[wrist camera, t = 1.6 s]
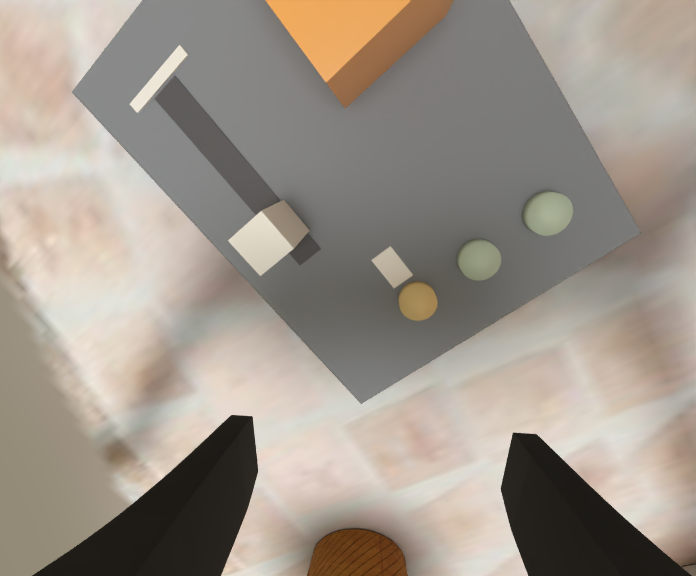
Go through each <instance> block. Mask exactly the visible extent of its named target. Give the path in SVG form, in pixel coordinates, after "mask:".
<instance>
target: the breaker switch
mask: <svg viewBox="0 0 696 576" xmlns="http://www.w3.org/2000/svg"><path fill="white" fill-rule="evenodd" d="M309 231H310V230H309V229H308V228H307V227H306V225H305V224H304V223H303V222H302V221H301V219H300V218H299V217H298V216H297V215H296V213H295V212H294V211H293V210H292V209H291V207H290V206H289V205H288V204H287V203H286V202H285V200H282V201H280V202H278V203H276V204H274V205H272V206H270V207H268V208H266V209H264V210H262V211H260V212H259V213H258V214H257V215H256V216H255V217H254V218H253V219H251V220H250V221H249V222H248V223H247V224H246V225H245V226H244V227H243V228H241V229H240V230H239V231H238V232H237V233H236V234H235V235H234V236H232V237H231V238H230V239H229V240H228V241H229V242H230V244H231V245H232V246H233V247H234V248H235V249H236V250H237V251H238V252H239V253H240V255H241V256H242V257H243V258H244V259H245V260H246V261H247V262H248V263H249V264H250V265H251V267H252V268H253V269H254V270H255V271H256V272H257V273H258V274H259V275H260V276H261V275H262V274H264V273H265V272H266V271H267V270H268V269H270V268H271V267H272V266H273V265H275V264H276V263H277V262H278V261H279V260H281V259H282V258H283V257H284V256H285V255H287V254H288V253H289V252H290V251H292V250H293V249H294V248H295V247H296V246H297V245H298V243H299V242H300V241H301V240H302V239H303V238H304V237H305V235H306V234H307V233H308V232H309Z"/></svg>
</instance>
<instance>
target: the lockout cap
mask: <svg viewBox="0 0 696 576" xmlns="http://www.w3.org/2000/svg"><path fill="white" fill-rule="evenodd" d="M265 1H266V2H267V3H268V5H269V6H270V7H271V9H272V10H273V11H274V13H275V14H276V15H277V17H278V18H279V20H280V21H281V22H282V24H283V25H284V26H285V28H286V29H287V30H288V32H289V33H290V35H291V36H292V37H293V39H294V40H295V41H296V43H297V44H298V45H299V47H300V48H301V49H302V51H303V52H304V54H305V55H306V56H307V58H308V59H309V60H310V62H311V63H312V64H313V66H314V67H315V68H316V70H317V71H318V73H319V74H320V75H321V77H322V78H323V79H324V81H325V82H326V83H327V85H328V86H329V87H330V89H331V90H332V92H333V93H334V94H335V96H336V97H337V98H338V100H339V101H340V102H341V104H342V105H343V106H344V108H346V107H347V106H349V105H350V104H351V103H352V102H353V101H354V100H355V99H356V98H357V97H358V96H359V95H360V94H362V93H363V92H364V91H365V90H366V89H367V88H368V87H369V86H370V85H371V84H372V83H373V82H375V81H376V80H377V79H378V78H379V77H380V76H381V75H382V74H383V73H384V72H385V71H387V70H388V69H389V68H390V67H391V66H392V65H393V64H394V63H395V62H396V61H397V60H398V59H400V58H401V57H402V56H403V55H404V54H405V53H406V52H407V51H408V50H409V49H410V48H411V47H413V46H414V45H415V44H416V43H417V42H418V41H419V40H420V39H421V38H422V37H423V36H425V35H426V34H427V33H428V32H429V31H430V30H431V29H432V28H433V27H434V26H435V25H436V24H438V23H439V22H440V21H441V20H442V19H443V18H444V17H445V16H446V15H447V13H448V11H449V9H450V6H451V4H452V2H453V0H265Z"/></svg>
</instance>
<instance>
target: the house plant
mask: <svg viewBox="0 0 696 576" xmlns="http://www.w3.org/2000/svg"><path fill="white" fill-rule="evenodd" d="M682 568H683V569H684V570H686V571H687V572H688V573H689V574H691V575H692V576H696V564H695V565H690V566H685V567H682Z"/></svg>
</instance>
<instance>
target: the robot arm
mask: <svg viewBox="0 0 696 576" xmlns="http://www.w3.org/2000/svg"><path fill="white" fill-rule="evenodd" d="M257 473H258V464H257V455H256V445H255V436H254V427H253V417H252V416H238V415H231V416H230V417H229V418H228V419H227V420H226V421H225V422H223V423H222V424H221V425H220V426H219V427H218V428H217V429H216V430H215V431H214V432H213V433H212V434H211V435H210V436H209V437H208V438H207V439H205V440H204V441H203V442H202V443H201V444H200V445H199V446H198V447H197V448H196V449H195V450H194V451H193V452H192V453H191V454H189V455H188V456H187V457H186V458H185V459H184V460H183V461H182V462H181V463H180V464H178V465H177V466H176V467H175V468H174V469H173V470H172V471H171V472H170V473H168V474H167V475H166V476H165V477H164V478H163V479H162V480H160V481H159V482H158V483H157V484H156V485H155V486H153V487H152V488H151V489H150V490H149V491H147V492H146V493H145V494H144V495H143V496H141V497H140V498H139V499H138V500H137V501H135V502H134V503H133V504H132V505H131V506H129V507H128V508H127V509H126V510H124V511H123V512H122V513H120V514H119V515H118V516H117V517H115V518H114V519H113V520H112V521H110V522H109V523H108V524H106V525H105V526H104V527H102V528H101V529H99V530H98V531H97V532H95V533H94V534H93V535H91V536H90V537H89V538H87V539H86V540H84V541H83V542H82V543H80V544H79V545H77V546H76V547H74V548H73V549H72V550H70V551H69V552H67V553H66V554H64V555H63V556H61V557H60V558H58V559H57V560H56V561H54V562H52V563H51V564H49V565H48V566H46V567H45V568H43V569H42V570H40V571H39V572H37V573H36V574H34V575H33V576H221V574H222V572H223V569H224V567H225V564H226V562H227V559H228V557H229V554H230V552H231V549H232V547H233V544H234V542H235V539H236V537H237V534H238V532H239V529H240V527H241V524H242V522H243V519H244V517H245V514H246V512H247V509H248V506H249V502H250V499H251V495H252V492H253V488H254V485H255V481H256V477H257ZM501 492H502V496H503V500H504V504H505V508H506V512H507V516H508V519H509V523H510V527H511V530H512V533H513V536H514V539H515V541H516V544H517V547H518V549H519V552H520V555H521V557H522V560H523V563H524V565H525V568H526V571H527V573H528V576H692V575H691V574H689V573H688V572H687V571H686V570H684V569H683V568H682V567H681V566H679V565H678V564H677V563H676V562H675V561H673V560H672V559H671V558H670V557H669V556H667V555H666V554H665V553H664V552H663V551H662V550H660V549H659V548H658V547H657V546H656V545H655V544H653V543H652V542H651V541H650V540H649V539H648V538H647V537H645V536H644V535H643V534H642V533H641V532H640V531H638V530H637V529H636V528H635V527H634V526H633V525H632V524H630V523H629V522H628V521H627V520H626V519H625V518H624V517H623V516H622V515H621V514H619V513H618V512H617V511H616V510H615V509H614V508H613V507H612V506H611V505H610V504H609V503H607V502H606V501H605V500H604V499H603V498H602V497H601V496H600V495H599V494H598V493H597V492H596V491H595V490H594V489H593V488H592V487H590V486H589V485H588V484H587V483H586V482H585V481H584V480H583V479H582V478H581V477H580V476H579V475H578V474H577V473H576V472H575V471H574V470H573V469H572V468H571V467H570V466H569V465H568V464H567V463H566V462H565V461H564V460H563V459H562V458H561V457H560V456H559V455H558V454H556V453H555V452H554V451H553V450H552V449H551V448H550V447H549V446H548V445H547V444H546V443H545V442H544V441H543V440H542V439H541V438H540V437H539V436H538V435H537V434H525V433H513V435H512V440H511V444H510V449H509V453H508V458H507V463H506V467H505V472H504V476H503V481H502V485H501Z"/></svg>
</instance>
